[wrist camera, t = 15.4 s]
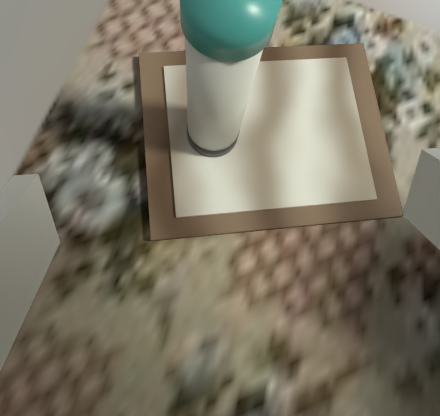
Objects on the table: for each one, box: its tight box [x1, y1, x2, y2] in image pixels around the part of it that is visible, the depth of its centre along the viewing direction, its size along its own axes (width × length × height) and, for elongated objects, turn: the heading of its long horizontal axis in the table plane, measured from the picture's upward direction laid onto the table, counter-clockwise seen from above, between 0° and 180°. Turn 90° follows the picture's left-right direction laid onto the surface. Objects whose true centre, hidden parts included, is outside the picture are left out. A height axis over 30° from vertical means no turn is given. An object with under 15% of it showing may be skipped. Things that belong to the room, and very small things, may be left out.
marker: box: [180, 0, 282, 157], centre depth 21 cm, size 4×4×14 cm
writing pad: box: [139, 43, 403, 241], centre depth 29 cm, size 20×16×1 cm
